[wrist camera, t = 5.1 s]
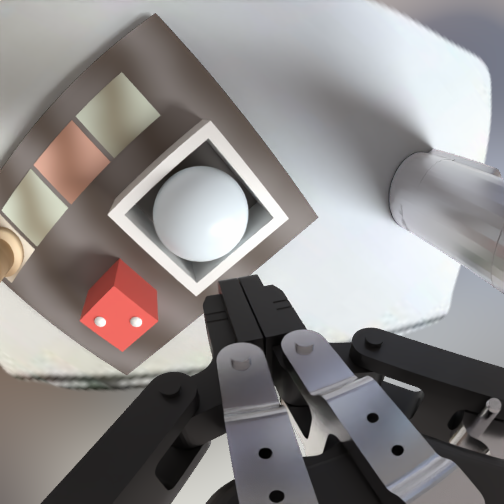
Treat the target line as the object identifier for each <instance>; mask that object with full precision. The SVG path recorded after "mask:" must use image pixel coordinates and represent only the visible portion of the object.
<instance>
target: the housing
mask: <svg viewBox="0 0 504 504" xmlns="http://www.w3.org/2000/svg"><path fill="white" fill-rule="evenodd" d="M205 141H207V142H208V143H209V144H210V145H211V147H212V148H213V149H214V150H215V151H216V153H217V154H218V155H219V156H220V157H221V159H222V160H223V161H224V162H225V163H226V164H227V166H228V167H229V168H230V169H231V170H232V172H233V173H234V174H235V175H236V176H237V178H238V179H239V180H240V181H241V183H242V184H243V185H244V186H245V187H246V189H247V190H248V191H249V192H250V193H251V195H252V196H253V197H254V198H255V200H256V201H257V203H256V204H255V205H253V206H252V207H251V208H250V209H249V210H248V222H247V227H246V230H245V232H244V235H243V237H242V238H241V240H240V241H239V243H238V244H237V245H236V246H235V247H234V248H233V249H232V250H231V251H230V252H228V253H227V254H225V255H224V256H222V257H220V258H217V259H214V260H211V261H204V262H197V261H189V260H186V259H183V258H181V257H179V256H177V255H175V254H174V253H172V252H171V251H170V250H168V249H167V248H166V247H165V245H164V244H163V243H162V241H161V240H160V238H159V237H158V235H157V233H156V230H155V227H154V222H153V221H152V220H151V219H150V218H149V217H148V216H147V215H146V214H145V213H144V212H143V211H142V210H141V209H140V208H139V207H138V206H137V205H136V203H137V202H138V201H139V200H140V199H141V198H142V197H143V196H144V195H145V194H146V193H147V192H148V191H149V190H150V189H151V188H152V187H154V186H155V185H156V184H157V183H158V182H159V181H160V180H161V179H162V178H163V177H164V176H165V175H167V174H168V173H169V172H170V171H171V170H172V169H173V168H174V167H176V166H177V165H178V164H179V163H180V162H181V161H182V160H183V159H185V158H186V157H187V156H188V155H189V154H190V153H192V152H193V151H194V150H195V149H196V148H197V147H199V146H200V145H201V144H202V143H203V142H205ZM108 216H109V217H110V218H111V219H112V220H113V221H114V222H115V223H116V224H117V225H119V226H120V227H121V228H122V229H123V230H124V231H125V232H126V233H127V234H128V235H129V236H130V237H131V238H132V239H133V240H134V241H135V242H136V243H137V244H138V245H140V246H141V247H142V248H143V249H144V250H145V251H146V252H147V253H148V254H149V255H150V256H151V257H153V258H154V259H155V260H156V261H157V262H158V263H159V264H160V265H161V266H162V267H164V268H165V269H166V270H167V271H168V272H169V273H170V274H171V275H172V276H174V277H175V278H176V279H177V280H178V281H179V282H180V283H181V284H183V285H184V286H185V287H186V288H187V289H188V290H189V291H191V292H192V293H193V294H194V295H195V296H197V295H199V294H200V293H201V292H202V291H203V290H205V289H206V288H207V287H208V286H209V285H211V284H212V283H213V282H214V281H215V280H216V279H218V278H219V277H220V276H221V275H222V274H224V273H225V272H226V271H227V270H228V269H230V268H231V267H232V266H233V265H234V264H235V263H237V262H238V261H239V260H240V259H241V258H243V257H244V256H245V255H246V254H247V253H249V252H250V251H251V250H252V249H253V248H255V247H256V246H257V245H258V244H259V243H260V242H262V241H263V240H264V239H265V238H266V237H268V236H269V235H270V234H271V233H272V232H274V231H275V230H276V229H277V228H278V227H280V226H281V225H282V224H283V223H284V222H285V221H287V220H288V219H289V218H288V217H287V216H286V214H285V213H284V212H283V210H282V209H281V208H280V206H279V205H278V204H277V203H276V201H275V200H274V199H273V197H272V196H271V195H270V194H269V192H268V191H267V190H266V188H265V187H264V186H263V185H262V183H261V182H260V181H259V179H258V178H257V177H256V176H255V174H254V173H253V172H252V171H251V169H250V168H249V167H248V166H247V164H246V163H245V162H244V161H243V159H242V158H241V157H240V156H239V154H238V153H237V152H236V151H235V150H234V148H233V147H232V146H231V145H230V143H229V142H228V141H227V140H226V138H225V137H224V136H223V135H222V134H221V132H220V131H219V130H218V129H217V128H216V126H215V125H214V124H213V123H212V122H211V121H210V120H201V121H200V122H199V123H198V124H196V125H195V126H194V127H193V128H192V129H190V130H189V131H188V132H187V133H186V134H184V135H183V136H182V137H181V138H180V139H179V140H177V141H176V142H175V143H174V144H173V145H172V146H170V147H169V148H168V149H167V150H166V151H165V152H164V153H163V154H161V155H160V156H159V157H158V158H157V159H156V160H155V161H154V162H153V163H152V164H151V165H149V166H148V167H147V168H146V169H145V170H144V171H143V172H142V173H141V174H140V175H139V176H138V177H137V178H136V179H135V180H134V181H133V182H132V183H131V184H129V185H128V186H127V187H126V188H125V189H124V190H123V191H122V192H121V193H120V194H119V195H118V196H117V197H116V198H115V200H114V202H113V204H112V207H111V209H110V211H109V213H108Z"/></svg>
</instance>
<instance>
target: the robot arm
mask: <svg viewBox="0 0 504 504" xmlns="http://www.w3.org/2000/svg"><path fill="white" fill-rule="evenodd" d="M389 203H390V210H391V213H392V216H393V218H394V220H395V221H396V223H398V224H399V225H400V226H401V227H403V228H404V229H406V230H407V231H409V232H410V233H412V234H414V235H416V236H418V237H419V238H421V239H422V240H424V241H426V242H427V243H429V244H430V245H432V246H434V247H435V248H437V249H438V250H440V251H442V252H443V253H445V254H446V255H448V256H449V257H451V258H452V259H454V260H455V261H457V262H458V263H460V264H461V265H463V266H464V267H466V268H467V269H469V270H471V271H472V272H473V273H475V274H476V275H478V276H479V277H481V278H482V279H483V280H485V281H487V282H488V283H489V284H491V285H492V286H493V287H495V288H496V289H498V290H499V291H500V292H502V293H503V294H504V179H503V178H501V174H500V172H499V170H498V169H496V168H494V167H491V166H488V165H486V164H483V163H480V162H477V161H473V160H470V159H467V158H464V157H461V156H457V155H454V154H451V153H447V152H444V151H440V150H437V149H432V150H431V151H430V152H428V153H426V152H418V153H414V154H412V155H410V156H409V157H408V158H406V159H405V160H404V161H403V162H402V164H401V165H400V166H399V168H398V169H397V171H396V173H395V175H394V178H393V181H392V183H391V188H390V197H389ZM218 292H219V294H216V295H210V296H206V298H205V300H204V303H203V311H204V317H205V323H206V329H207V335H208V340H209V344H210V349H211V353H212V357H213V359H212V361H211V363H210V364H209V366H208V367H207V368H206V369H204V370H203V371H202V372H200V373H198V374H195V375H193V376H191V377H190V376H188V375H186V374H184V373H180V372H168V373H164V374H162V375H159V376H157V377H156V378H155V379H153V380H152V381H151V382H150V383H149V385H148V386H147V387H146V388H145V389H144V390H143V391H142V392H141V394H140V395H139V396H138V397H137V398H136V399H135V400H134V401H133V403H132V404H131V405H130V406H129V407H128V408H127V409H126V411H124V413H123V414H122V415H121V416H120V417H119V418H118V419H117V420H116V421H115V423H114V424H113V425H112V426H111V427H110V428H109V429H108V430H107V432H106V433H105V434H104V435H103V436H102V437H101V438H100V439H99V441H97V443H96V444H95V445H94V446H93V447H92V448H91V449H90V450H89V451H88V452H87V454H86V455H85V456H84V457H83V458H82V459H81V460H80V461H79V462H78V463H77V465H76V466H75V467H74V468H73V469H72V470H71V471H70V472H69V473H68V474H67V475H66V477H65V478H64V479H63V480H62V481H61V482H60V483H59V484H58V485H57V486H56V487H55V489H54V490H53V491H52V492H51V493H50V494H49V495H48V496H47V498H45V499H44V500H43V502H42V503H41V504H171V503H172V501H173V500H174V498H175V497H176V496H177V494H178V493H179V491H180V490H181V488H182V487H183V485H184V484H185V483H186V481H187V480H188V478H189V477H190V475H191V474H192V472H193V471H194V469H195V468H196V466H197V465H198V463H199V462H200V460H201V459H202V457H203V456H204V454H205V453H206V451H207V450H208V448H209V446H210V444H211V440H213V439H215V438H217V437H218V436H221V435H223V434H225V433H227V439H228V444H229V450H230V456H231V462H232V467H233V472H234V478H235V479H234V480H232V481H230V482H229V483H227V484H225V485H224V486H223V487H221V488H220V489H219V490H218V491H216V492H215V493H214V494H213V495H212V496H211V498H210V499H209V500H208V501H207V502H206V504H504V368H502V367H499V366H495V365H492V364H489V363H485V362H482V361H479V360H475V359H472V358H469V357H466V356H462V355H459V354H456V353H453V352H449V351H446V350H443V349H440V348H437V347H433V346H430V345H427V344H424V343H421V342H418V341H415V340H411V339H408V338H405V337H402V336H399V335H396V334H393V333H390V332H387V331H384V330H381V329H378V328H364V329H361V330H359V331H357V332H356V333H355V334H354V336H353V338H352V342H350V343H328V342H327V340H326V339H325V338H324V337H323V336H322V335H321V334H319V333H317V332H315V331H312V330H307V329H306V327H305V326H304V324H303V323H302V321H301V320H300V318H299V316H298V315H297V313H296V312H295V310H294V308H293V307H292V305H291V304H290V302H289V301H288V299H287V297H286V296H285V294H284V293H283V291H282V290H280V289H279V288H277V287H275V286H274V285H268V286H263V284H262V282H261V280H260V278H259V277H258V275H257V274H256V275H250V276H244V277H238V279H237V278H232V279H226V280H220V281H218ZM385 376H386V377H389V378H392V379H395V380H398V381H401V382H404V383H406V384H409V385H412V386H415V387H418V388H420V389H421V391H419V392H414V391H410V390H407V389H405V388H402V387H399V386H396V385H393V384H390V383H387V382H385V381H383V379H384V377H385ZM274 386H276V389H277V391H278V393H279V396H280V403H281V405H280V403H279V400H278V397H277V394H276V390H275V387H274ZM292 426H293V427H294V429H295V431H296V433H297V435H298V436H299V438H300V440H301V442H302V444H303V446H304V450H305V455H306V457H302V454H301V451H300V448H299V445H298V442H297V439H296V436H295V433H294V430H293V427H292Z"/></svg>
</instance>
